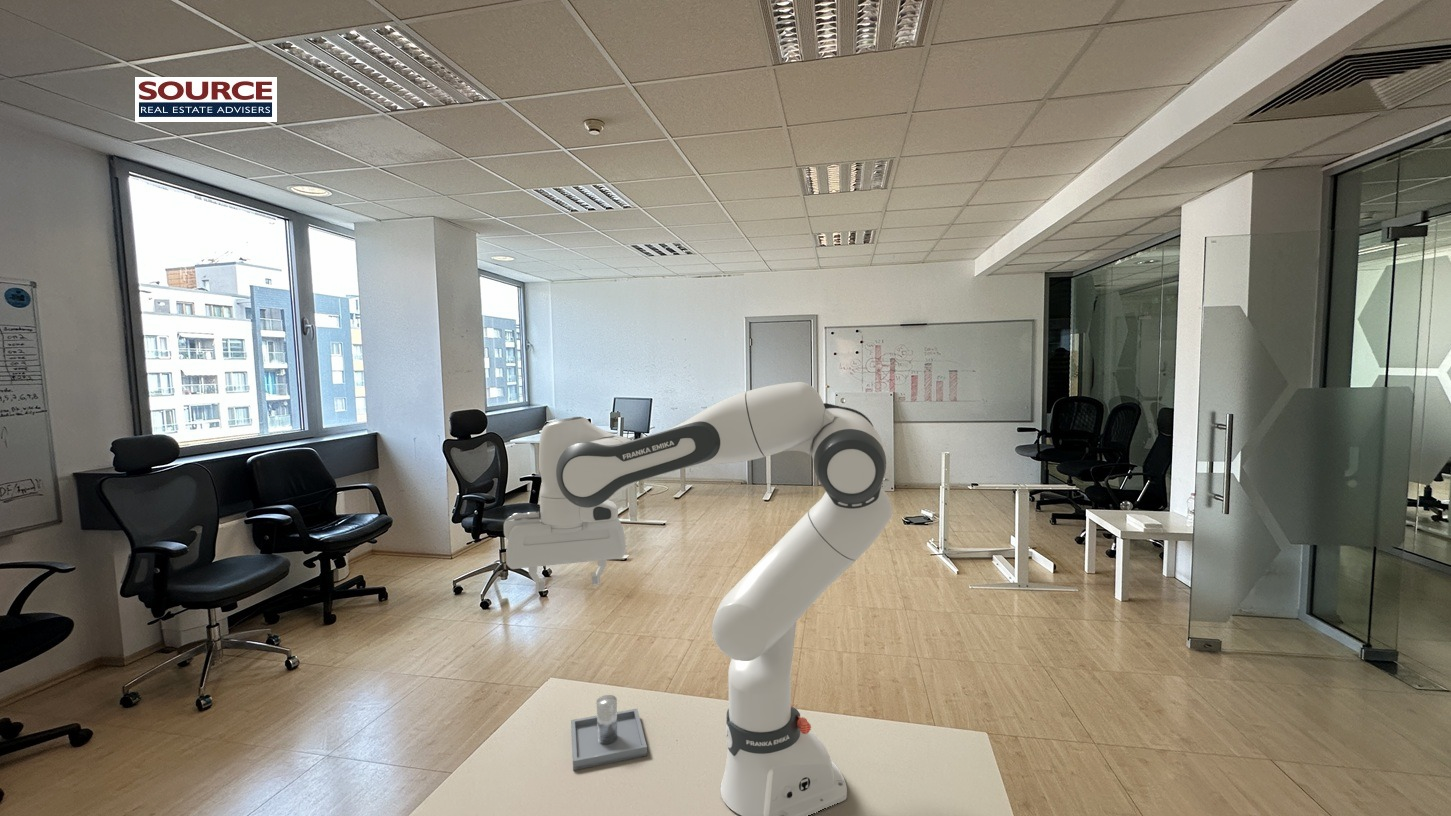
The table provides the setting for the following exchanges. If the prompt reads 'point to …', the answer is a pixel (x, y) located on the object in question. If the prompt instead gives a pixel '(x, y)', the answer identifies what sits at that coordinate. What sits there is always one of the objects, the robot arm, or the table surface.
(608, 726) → the glossy grey cylinder
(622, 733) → the parts tray
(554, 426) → the robot arm
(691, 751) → the table surface
